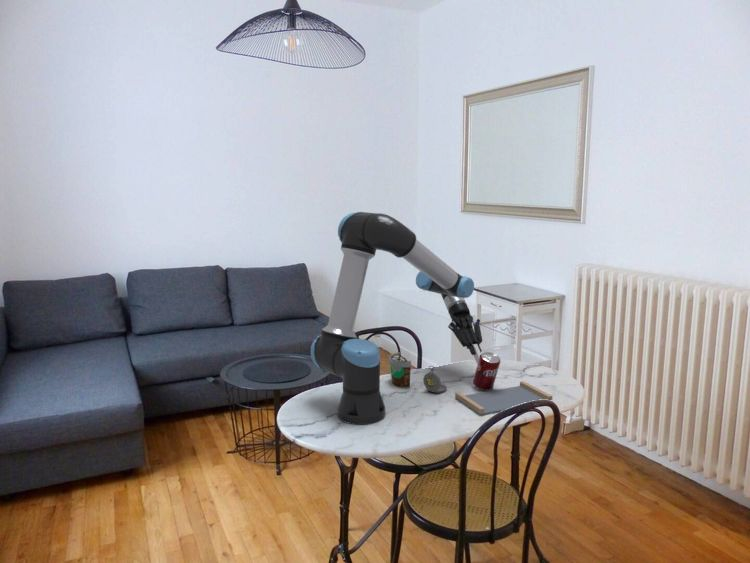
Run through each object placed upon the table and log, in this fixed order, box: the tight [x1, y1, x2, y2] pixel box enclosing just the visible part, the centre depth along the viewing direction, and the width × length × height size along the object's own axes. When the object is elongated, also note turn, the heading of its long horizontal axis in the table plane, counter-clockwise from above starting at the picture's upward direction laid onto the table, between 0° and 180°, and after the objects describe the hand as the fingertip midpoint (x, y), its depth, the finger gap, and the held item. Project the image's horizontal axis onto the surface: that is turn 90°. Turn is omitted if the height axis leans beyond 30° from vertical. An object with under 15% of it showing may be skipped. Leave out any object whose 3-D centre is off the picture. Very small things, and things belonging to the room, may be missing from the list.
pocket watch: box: [422, 365, 447, 394], centre depth 199 cm, size 8×8×10 cm
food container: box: [388, 352, 412, 388], centre depth 207 cm, size 12×6×10 cm, turn 17°
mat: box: [454, 380, 553, 417], centre depth 191 cm, size 28×16×2 cm, turn 112°
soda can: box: [472, 351, 501, 392], centre depth 200 cm, size 7×7×12 cm
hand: (480, 361), depth 203 cm, fingers closed
